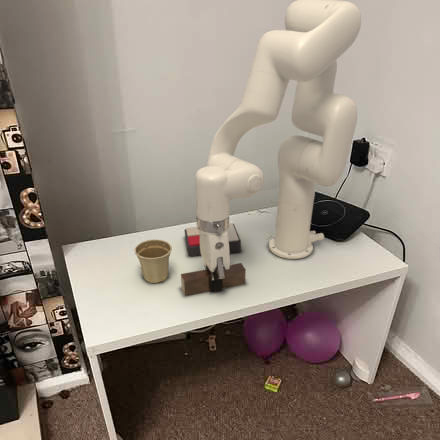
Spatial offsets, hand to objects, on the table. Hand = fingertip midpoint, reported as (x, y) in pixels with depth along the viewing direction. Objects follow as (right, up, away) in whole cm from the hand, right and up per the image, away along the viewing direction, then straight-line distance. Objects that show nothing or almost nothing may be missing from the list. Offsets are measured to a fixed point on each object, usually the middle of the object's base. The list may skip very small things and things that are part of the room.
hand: (213, 285), depth 111 cm
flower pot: (-15, +2, +4) cm, 16 cm away
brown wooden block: (0, 0, 0) cm, 0 cm away
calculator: (-1, +12, +17) cm, 21 cm away
